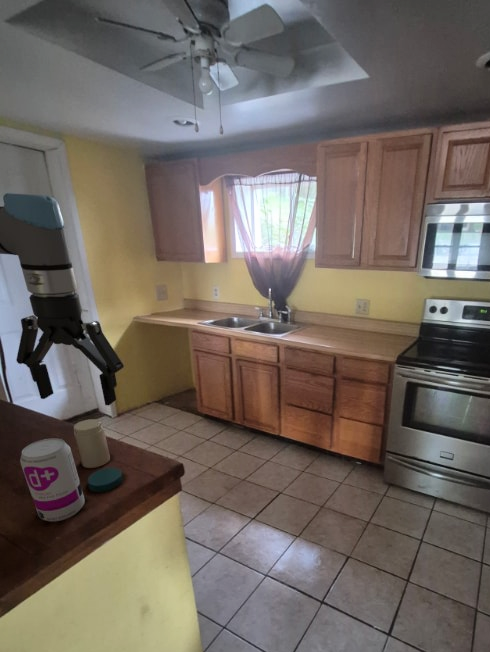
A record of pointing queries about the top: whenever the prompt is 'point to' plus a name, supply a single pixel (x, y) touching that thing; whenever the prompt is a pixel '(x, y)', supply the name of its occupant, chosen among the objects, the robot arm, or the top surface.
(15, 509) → the top surface
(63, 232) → the robot arm
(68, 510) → the supplement can
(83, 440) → the jar
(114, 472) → the jar lid
